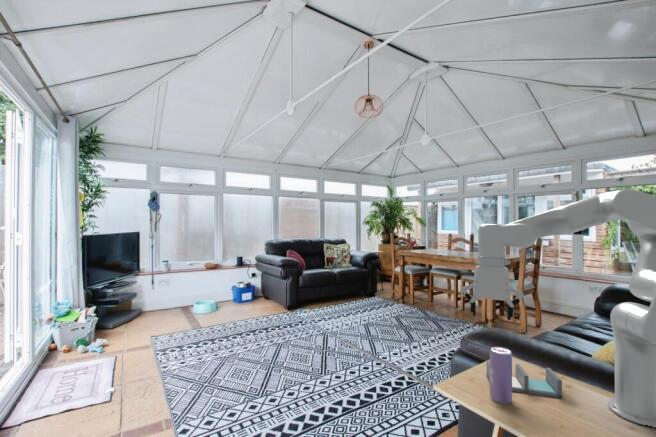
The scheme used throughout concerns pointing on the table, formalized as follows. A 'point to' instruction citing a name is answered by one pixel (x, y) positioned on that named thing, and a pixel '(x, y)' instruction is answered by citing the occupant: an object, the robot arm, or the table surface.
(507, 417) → the table surface
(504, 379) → the beverage can
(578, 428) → the table surface
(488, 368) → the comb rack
